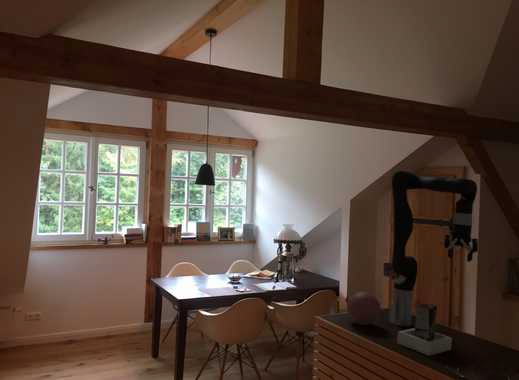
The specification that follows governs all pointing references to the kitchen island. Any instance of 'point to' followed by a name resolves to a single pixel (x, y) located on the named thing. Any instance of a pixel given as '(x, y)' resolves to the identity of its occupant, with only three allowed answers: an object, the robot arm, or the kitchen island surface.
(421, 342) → the carton dock
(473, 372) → the kitchen island surface
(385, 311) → the kitchen island surface
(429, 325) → the coffee box
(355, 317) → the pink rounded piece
